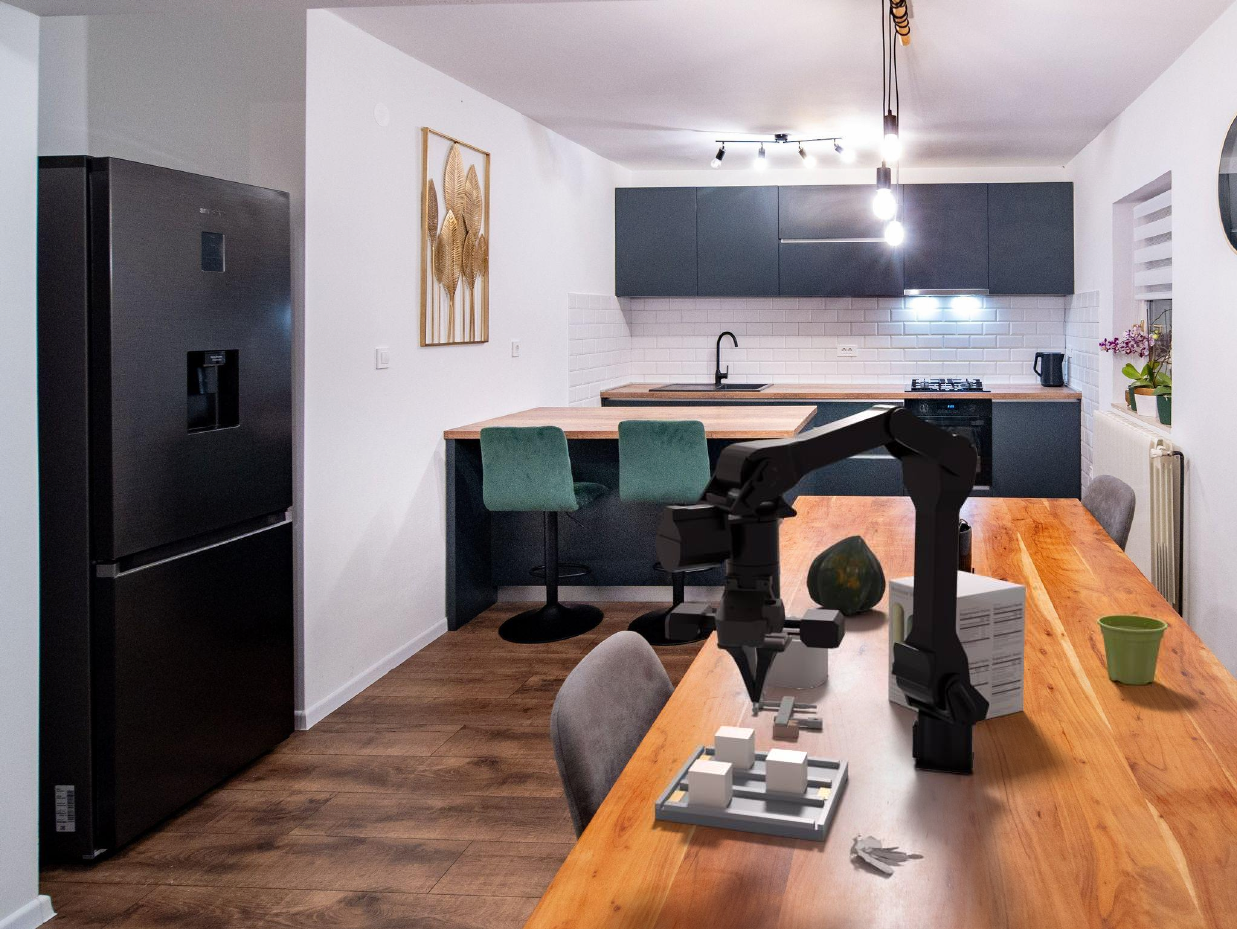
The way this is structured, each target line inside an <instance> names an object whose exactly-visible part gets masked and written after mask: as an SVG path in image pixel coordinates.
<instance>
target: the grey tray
mask: <svg viewBox="0 0 1237 929" xmlns="http://www.w3.org/2000/svg"><path fill="white" fill-rule="evenodd" d="M705 745H706V744H699V745H698V746H697V748H696V749H695V750H694V751H693V753H692V754H691V755H690V756H689V758H688V759H687V760H686V762H685V763H684V765H683V766H682V767H681V769H680V770H679V771H678V772H677V774H676V775H675V776H674V777H673V779H672V780H671V782H670V783H669V784H668V785H667V787H666V788H665V789H664V791H662V793H661V794H660V796H659V797H658V798H657V800H656V801H655V802H654V819H655V820H657V821H665V822H666V821H667V822H672V823H680V824H687V825H696V826H701V827H702V826H703V827H709V828H719V829H726V830H732V831H733V830H734V831H740V832H748V833H755V834H763V835H770V836H776V837H778V836H779V837H785V838H793V839H800V840H808V841H814V842H815V841H816V842H824V841H825V839H826V836H827V834H828V830H829V828H830V826H831V822H832V820H833V817H834V814H835V811H836V810H837V807H836V806H838V804H839V801H840V799H839V798H841V795H842V793H843V791H844V787H845V785H846V783H847V780H846V779H848V777H849V760H848V759H843V760H842V762H841V763H840V761H841V760H840V759H839V758H830V757H820V756H810V755H807V787H806V789H805V791H804V794H800V793H792V792H783V791H775V790H766V758H767V756H768V754H769V753H770V751H764V750H755V761H754V762H753V764H752V766H751V767H750V769H741V768H732V793H733V797H732V798H731V800H730V802H729V803H728V805H727V807H726V808H721V807H713V806H705V805H697V804H689V788H688V770H689V769H690V768H691V766H692V765H693V764H694V762H695V761H696V760H697V759H699V760H708V761H715V745H709V744H708V745H707V746H706V747H705ZM845 782H846V783H845ZM844 784H845V785H844ZM842 790H843V791H842Z"/></svg>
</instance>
